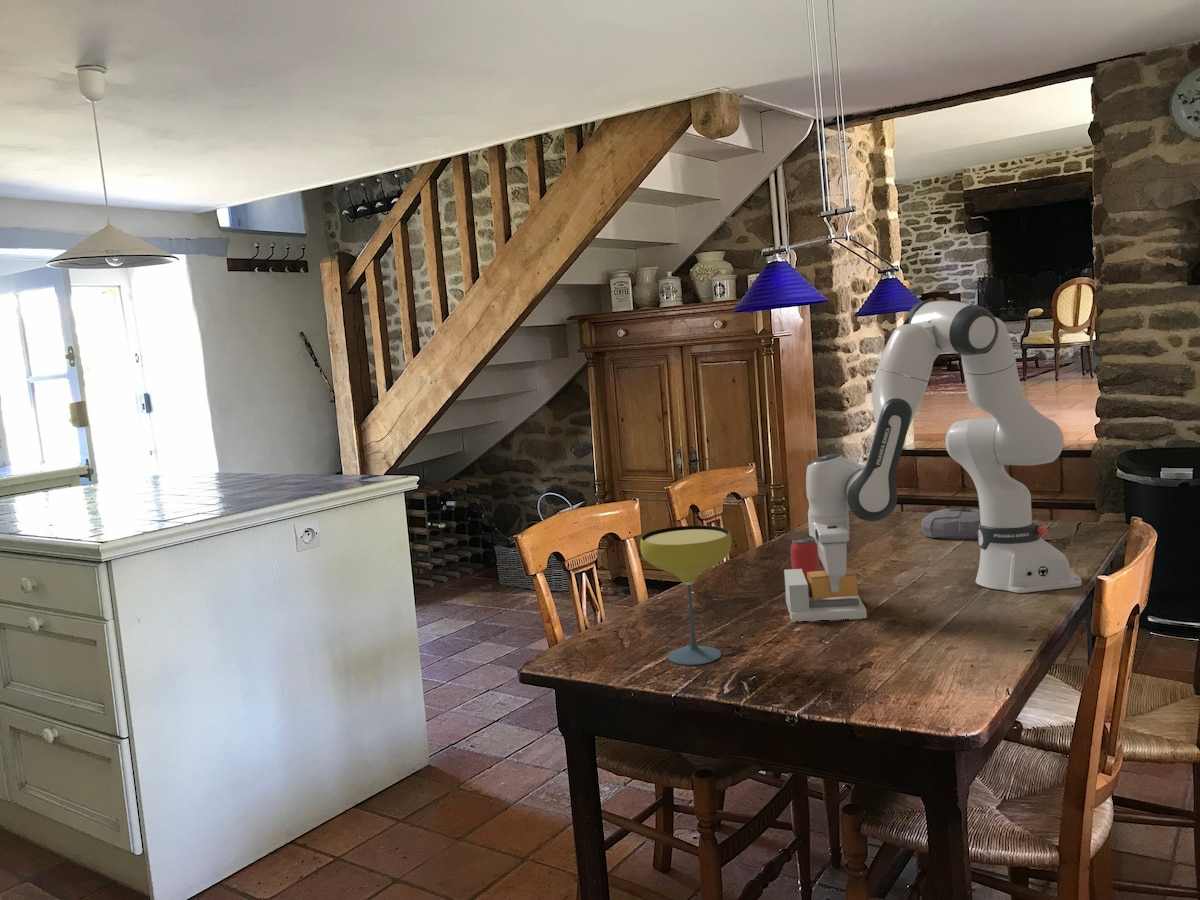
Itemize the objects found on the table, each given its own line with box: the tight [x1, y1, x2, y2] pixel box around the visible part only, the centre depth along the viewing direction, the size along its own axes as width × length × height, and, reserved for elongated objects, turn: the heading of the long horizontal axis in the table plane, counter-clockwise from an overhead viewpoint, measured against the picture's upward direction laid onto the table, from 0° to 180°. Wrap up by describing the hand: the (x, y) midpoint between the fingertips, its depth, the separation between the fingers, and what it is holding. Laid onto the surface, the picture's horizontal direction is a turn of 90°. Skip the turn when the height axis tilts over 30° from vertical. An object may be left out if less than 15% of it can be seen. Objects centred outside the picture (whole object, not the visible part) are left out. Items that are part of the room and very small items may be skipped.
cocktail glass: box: [639, 525, 732, 666], centre depth 188 cm, size 18×18×25 cm
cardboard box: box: [807, 567, 859, 599], centre depth 211 cm, size 10×5×5 cm, turn 89°
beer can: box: [790, 536, 820, 584], centre depth 232 cm, size 7×7×12 cm
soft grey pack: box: [920, 506, 980, 541], centre depth 272 cm, size 15×8×20 cm
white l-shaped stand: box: [783, 568, 868, 623], centre depth 212 cm, size 16×16×8 cm
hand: (832, 587), depth 212 cm, fingers closed on cardboard box, 5 cm apart
